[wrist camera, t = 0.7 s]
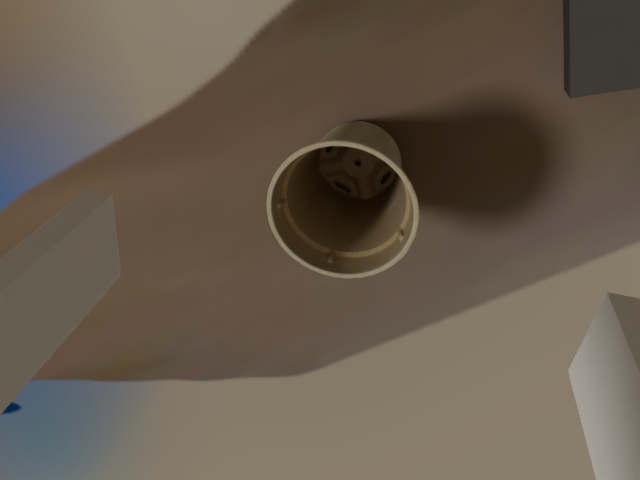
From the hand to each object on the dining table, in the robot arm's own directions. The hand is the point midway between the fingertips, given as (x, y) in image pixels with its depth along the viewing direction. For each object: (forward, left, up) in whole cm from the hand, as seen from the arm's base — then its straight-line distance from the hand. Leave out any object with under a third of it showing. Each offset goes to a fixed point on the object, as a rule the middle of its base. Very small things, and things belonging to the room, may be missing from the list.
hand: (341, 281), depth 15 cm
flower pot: (+7, -4, -26) cm, 27 cm away
